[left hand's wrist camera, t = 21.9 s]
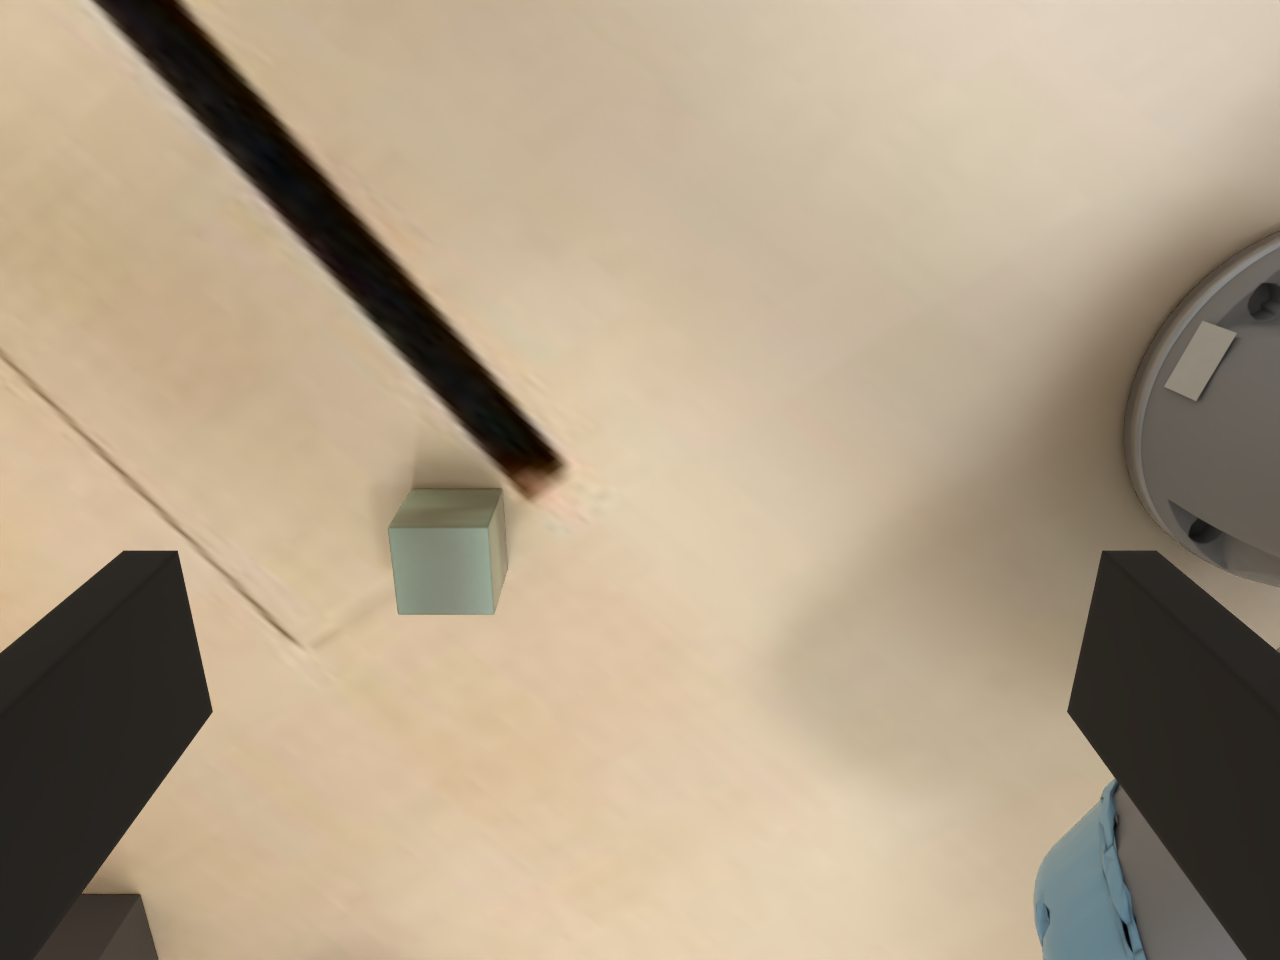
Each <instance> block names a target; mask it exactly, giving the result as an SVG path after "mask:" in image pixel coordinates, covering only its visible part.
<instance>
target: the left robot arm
mask: <svg viewBox="0 0 1280 960" xmlns="http://www.w3.org/2000/svg"><path fill="white" fill-rule="evenodd" d="M1124 447H1125V457H1126V463H1127V468H1128V472H1129V475H1130V479H1131V482H1132V485H1133V487H1134V489H1135V492H1136V494H1137V496H1138V498H1139V500H1140V501H1141V503H1142V505H1143V507H1144V508H1145V510H1146V511H1147V512H1148V514H1149V515H1150V516H1151V518H1152V519H1153V520H1154V521H1155V522H1156V523H1157V524H1158V525H1159V526H1160V527H1161V528H1162V529H1163V530H1164V531H1165V532H1166V533H1167V534H1169V535H1170V536H1171V537H1172V538H1174V539H1175V540H1176V541H1177V542H1179V543H1180V544H1181V545H1183V546H1184V547H1185V548H1186V549H1188V550H1189V551H1190V552H1192V553H1193V554H1195V555H1197V556H1198V557H1200V558H1201V559H1203V560H1205V561H1207V562H1209V563H1211V564H1213V565H1215V566H1217V567H1219V568H1221V569H1223V570H1225V571H1228V572H1230V573H1232V574H1234V575H1237V576H1240V577H1243V578H1246V579H1250V580H1254V581H1258V582H1261V583H1265V584H1269V585H1273V586H1277V587H1280V231H1279V232H1277V233H1274V234H1272V235H1270V236H1267V237H1265V238H1264V239H1262V240H1260V241H1258V242H1256V243H1254V244H1252V245H1250V246H1249V247H1247V248H1245V249H1244V250H1242V251H1241V252H1239V253H1237V254H1236V255H1234V256H1233V257H1231V258H1230V259H1228V260H1227V261H1226V262H1224V263H1223V264H1222V265H1220V266H1219V267H1218V268H1216V269H1215V270H1214V271H1212V272H1211V273H1210V274H1209V275H1208V276H1207V277H1206V278H1204V279H1203V280H1202V281H1201V282H1200V283H1199V284H1198V285H1197V286H1196V287H1195V288H1194V289H1193V290H1192V291H1191V292H1190V293H1189V294H1188V295H1187V296H1186V297H1185V298H1184V299H1183V300H1182V301H1181V302H1180V303H1179V305H1178V306H1177V307H1176V308H1175V309H1174V311H1173V312H1172V313H1171V314H1170V316H1169V317H1168V318H1167V320H1166V321H1165V322H1164V324H1163V325H1162V327H1161V328H1160V330H1159V331H1158V332H1157V334H1156V336H1155V337H1154V339H1153V341H1152V343H1151V344H1150V346H1149V348H1148V349H1147V351H1146V353H1145V356H1144V358H1143V360H1142V362H1141V364H1140V366H1139V368H1138V371H1137V374H1136V377H1135V379H1134V382H1133V385H1132V388H1131V392H1130V396H1129V400H1128V404H1127V410H1126V416H1125V427H1124ZM212 712H213V711H212V706H211V702H210V697H209V692H208V688H207V683H206V679H205V674H204V669H203V665H202V660H201V656H200V651H199V647H198V642H197V637H196V633H195V628H194V624H193V619H192V614H191V610H190V605H189V601H188V596H187V591H186V587H185V582H184V578H183V573H182V568H181V564H180V559H179V555H178V551H123V552H122V553H120V554H119V555H118V556H117V557H116V558H114V559H113V560H112V561H111V562H110V563H108V564H107V565H106V566H105V567H104V568H102V569H101V570H100V571H99V572H98V573H96V574H95V575H94V576H93V577H91V578H90V579H89V580H88V581H87V582H85V583H84V584H83V585H82V586H81V587H79V588H78V589H77V590H76V591H75V592H73V593H72V594H71V595H70V596H69V597H67V598H66V599H65V600H64V601H63V602H61V603H60V604H59V605H58V606H57V607H55V608H54V609H53V610H52V611H51V612H49V613H48V614H47V615H46V616H45V617H43V618H42V619H41V620H40V621H39V622H37V623H36V624H35V625H34V626H33V627H31V628H30V629H29V630H28V631H27V632H25V633H24V634H23V635H22V636H21V637H19V638H18V639H17V640H16V641H14V642H13V643H12V644H11V645H10V646H8V647H7V648H6V649H5V650H4V651H2V652H1V653H0V960H33V959H34V958H35V957H36V955H37V954H38V952H39V951H40V950H41V948H42V947H43V946H44V944H45V943H46V941H47V940H48V939H49V937H50V936H51V934H52V933H53V932H54V930H55V929H56V928H57V926H58V925H59V923H60V922H61V921H62V919H63V918H64V917H65V915H66V914H67V912H68V911H69V910H70V908H71V907H72V905H73V904H74V903H75V901H76V900H77V899H78V897H79V896H80V894H81V893H82V892H83V890H84V889H85V888H86V886H87V885H88V883H89V882H90V881H91V879H92V878H93V876H94V875H95V874H96V872H97V871H98V870H99V868H100V867H101V865H102V864H103V863H104V861H105V860H106V859H107V857H108V856H109V854H110V853H111V852H112V850H113V849H114V847H115V846H116V845H117V843H118V842H119V841H120V839H121V838H122V836H123V835H124V834H125V832H126V831H127V830H128V828H129V827H130V825H131V824H132V823H133V821H134V820H135V818H136V817H137V816H138V814H139V813H140V812H141V810H142V809H143V807H144V806H145V805H146V803H147V802H148V801H149V799H150V798H151V796H152V795H153V794H154V792H155V791H156V789H157V788H158V787H159V785H160V784H161V783H162V781H163V780H164V778H165V777H166V776H167V774H168V773H169V772H170V770H171V769H172V767H173V766H174V765H175V763H176V762H177V760H178V759H179V758H180V756H181V755H182V754H183V752H184V751H185V749H186V748H187V747H188V745H189V744H190V742H191V741H192V740H193V738H194V737H195V736H196V734H197V733H198V731H199V730H200V729H201V727H202V726H203V725H204V723H205V722H206V720H207V719H208V718H209V716H210V715H211V713H212ZM1067 712H1068V713H1069V715H1070V716H1071V718H1072V719H1073V720H1074V722H1075V723H1076V725H1077V726H1078V727H1079V729H1080V730H1081V731H1082V733H1083V734H1084V736H1085V737H1086V738H1087V740H1088V741H1089V742H1090V744H1091V745H1092V747H1093V748H1094V749H1095V751H1096V752H1097V754H1098V755H1099V756H1100V758H1101V759H1102V760H1103V762H1104V763H1105V765H1106V766H1107V767H1108V769H1109V770H1110V772H1111V773H1112V774H1113V776H1114V777H1115V779H1114V780H1112V781H1111V782H1110V783H1109V784H1108V785H1107V786H1106V787H1105V788H1104V791H1103V793H1102V796H1101V800H1100V801H1099V802H1098V803H1097V804H1096V805H1095V806H1094V807H1093V808H1092V809H1091V810H1090V811H1089V812H1088V813H1087V814H1086V815H1085V816H1084V817H1083V818H1082V819H1081V820H1080V821H1079V822H1078V823H1077V824H1076V825H1075V826H1074V827H1073V828H1072V829H1070V830H1069V831H1068V832H1067V833H1066V834H1065V835H1064V836H1063V837H1062V838H1061V839H1060V840H1059V841H1058V842H1057V843H1056V844H1055V845H1054V846H1053V847H1052V848H1051V850H1050V851H1049V852H1048V854H1047V855H1046V856H1045V858H1044V860H1043V861H1042V863H1041V866H1040V868H1039V870H1038V874H1037V878H1036V882H1035V889H1034V914H1035V924H1036V929H1037V932H1038V936H1039V939H1040V943H1041V946H1042V952H1043V960H1280V648H1278V649H1277V650H1275V649H1274V648H1273V647H1272V646H1270V645H1269V644H1268V643H1267V642H1266V641H1264V640H1263V639H1262V638H1261V637H1259V636H1258V635H1257V634H1256V633H1255V632H1253V631H1252V630H1251V629H1250V628H1249V627H1247V626H1246V625H1245V624H1244V623H1243V622H1241V621H1240V620H1239V619H1238V618H1237V617H1235V616H1234V615H1233V614H1232V613H1231V612H1229V611H1228V610H1227V609H1226V608H1225V607H1223V606H1222V605H1221V604H1220V603H1219V602H1217V601H1216V600H1215V599H1214V598H1213V597H1211V596H1210V595H1209V594H1208V593H1207V592H1205V591H1204V590H1203V589H1202V588H1201V587H1199V586H1198V585H1197V584H1196V583H1195V582H1193V581H1192V580H1191V579H1190V578H1189V577H1187V576H1186V575H1185V574H1184V573H1182V572H1181V571H1180V570H1179V569H1178V568H1176V567H1175V566H1174V565H1173V564H1172V563H1170V562H1169V561H1168V560H1167V559H1166V558H1164V557H1163V556H1162V555H1161V554H1160V553H1158V552H1157V551H1102V555H1101V559H1100V564H1099V568H1098V573H1097V578H1096V582H1095V587H1094V591H1093V596H1092V601H1091V605H1090V610H1089V614H1088V619H1087V624H1086V628H1085V633H1084V637H1083V642H1082V647H1081V651H1080V656H1079V660H1078V665H1077V669H1076V674H1075V679H1074V683H1073V688H1072V692H1071V697H1070V702H1069V706H1068V711H1067Z"/></svg>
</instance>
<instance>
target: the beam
mask: <svg viewBox="0 0 1280 960" xmlns="http://www.w3.org/2000/svg"><path fill="white" fill-rule="evenodd" d="M33 960H158V958H157V955H156V951H155V947H154V944H153V940H152V937H151V933H150V929H149V926H148V922H147V919H146V915H145V911H144V908H143V904H142V901H141V897H140V895H80V896H79V897H78V899H77V900H76V901H75V903H74V904H73V905H72V907H71V908H70V910H69V911H68V912H67V914H66V915H65V917H64V918H63V919H62V921H61V922H60V923H59V925H58V926H57V928H56V929H55V930H54V932H53V933H52V934H51V936H50V937H49V939H48V940H47V941H46V943H45V944H44V946H43V947H42V948H41V950H40V951H39V952H38V954H37V955H36V957H35V958H34V959H33Z"/></svg>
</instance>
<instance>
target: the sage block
mask: <svg viewBox="0 0 1280 960" xmlns="http://www.w3.org/2000/svg"><path fill="white" fill-rule="evenodd" d="M388 533H389V542H390V550H391V559H392V567H393V576H394V584H395V593H396V601H397V610H398V614H399V615H493V614H494V613H495V610H496V607H497V604H498V600H499V597H500V593H501V590H502V587H503V583H504V580H505V576H506V573H507V570H508V567H507V551H506V535H505V519H504V503H503V490H502V489H412V490H411V491H410V493H409V495H408V496H407V498H406V499H405V501H404V503H403V504H402V506H401V507H400V509H399V511H398V512H397V514H396V515H395V517H394V519H393V520H392V522H391V523H390V525H389V527H388Z"/></svg>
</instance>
